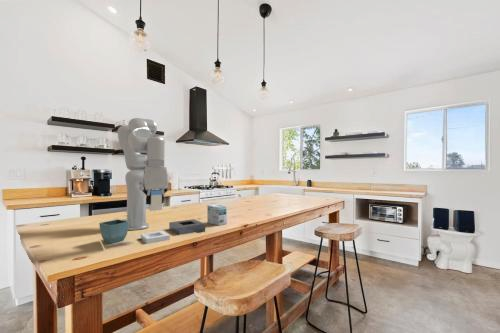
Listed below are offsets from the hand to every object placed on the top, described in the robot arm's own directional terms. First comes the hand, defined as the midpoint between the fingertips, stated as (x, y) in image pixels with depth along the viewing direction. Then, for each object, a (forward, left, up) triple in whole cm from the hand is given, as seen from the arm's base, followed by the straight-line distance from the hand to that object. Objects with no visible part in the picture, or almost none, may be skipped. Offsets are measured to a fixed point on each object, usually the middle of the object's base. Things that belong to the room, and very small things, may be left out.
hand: (155, 203), depth 112 cm
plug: (0, 0, -3) cm, 3 cm away
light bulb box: (+19, +37, -17) cm, 45 cm away
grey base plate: (0, 0, -17) cm, 17 cm away
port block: (+8, +18, -17) cm, 26 cm away
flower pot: (-16, -6, -17) cm, 24 cm away
